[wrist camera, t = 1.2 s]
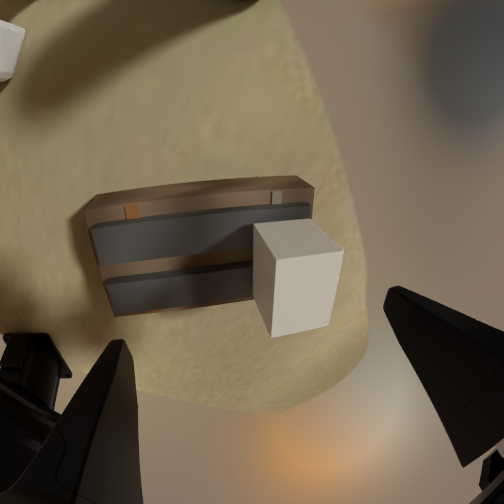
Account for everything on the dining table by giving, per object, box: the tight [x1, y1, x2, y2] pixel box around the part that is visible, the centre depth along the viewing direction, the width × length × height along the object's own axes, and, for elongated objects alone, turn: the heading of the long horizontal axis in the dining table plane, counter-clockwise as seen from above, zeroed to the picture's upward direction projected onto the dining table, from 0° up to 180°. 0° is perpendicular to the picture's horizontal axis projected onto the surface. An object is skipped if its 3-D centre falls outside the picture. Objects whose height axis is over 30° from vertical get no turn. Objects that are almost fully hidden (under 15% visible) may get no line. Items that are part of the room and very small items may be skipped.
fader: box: [253, 219, 344, 338], centre depth 16 cm, size 4×5×5 cm
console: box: [84, 176, 314, 317], centre depth 19 cm, size 14×8×4 cm, turn 90°
